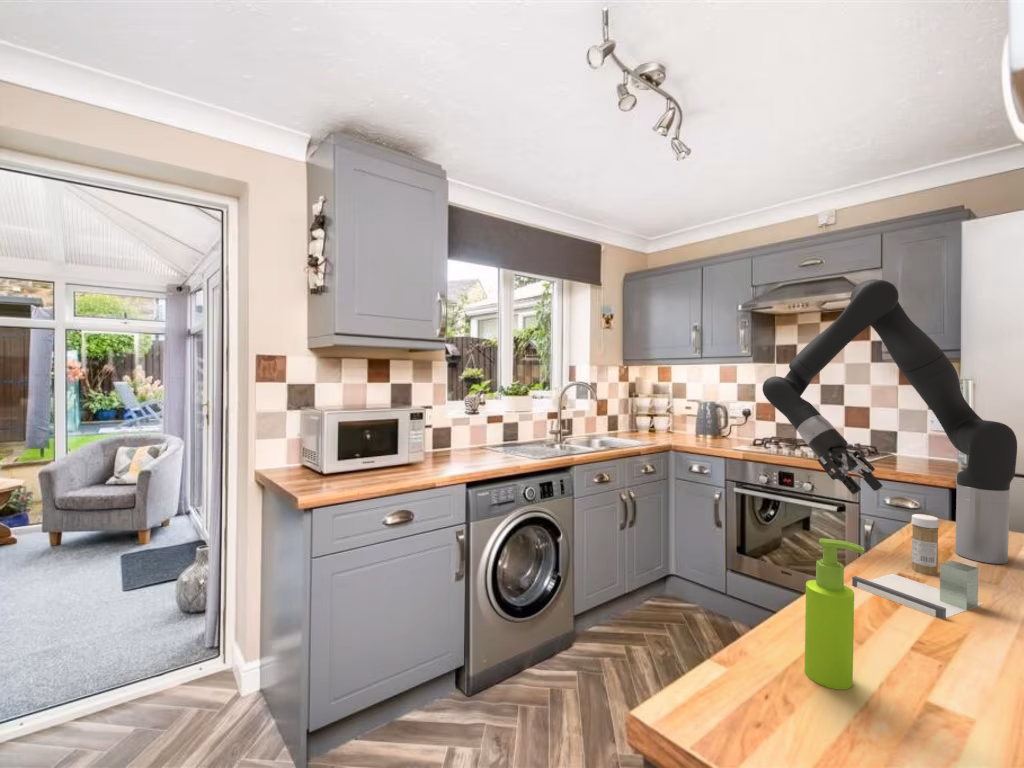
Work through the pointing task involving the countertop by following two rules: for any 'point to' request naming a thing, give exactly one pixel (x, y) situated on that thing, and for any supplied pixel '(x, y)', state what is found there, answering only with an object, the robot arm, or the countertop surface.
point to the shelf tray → (909, 594)
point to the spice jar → (925, 544)
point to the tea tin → (959, 584)
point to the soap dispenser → (830, 620)
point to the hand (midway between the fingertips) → (868, 490)
